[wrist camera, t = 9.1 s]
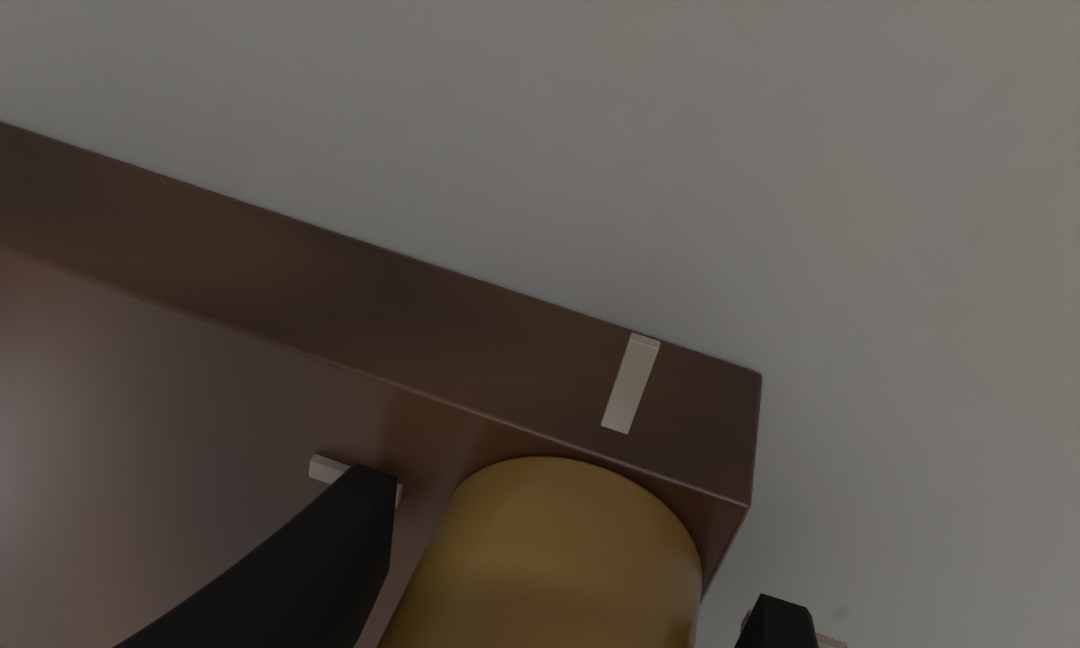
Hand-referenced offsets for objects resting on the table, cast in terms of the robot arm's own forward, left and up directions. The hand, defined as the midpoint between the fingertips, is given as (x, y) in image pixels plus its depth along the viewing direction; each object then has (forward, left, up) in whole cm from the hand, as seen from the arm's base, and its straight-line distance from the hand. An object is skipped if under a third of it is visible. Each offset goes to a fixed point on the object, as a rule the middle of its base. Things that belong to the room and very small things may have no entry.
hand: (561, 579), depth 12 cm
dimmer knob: (0, 0, 0) cm, 0 cm away
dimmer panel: (+4, +3, -4) cm, 6 cm away
